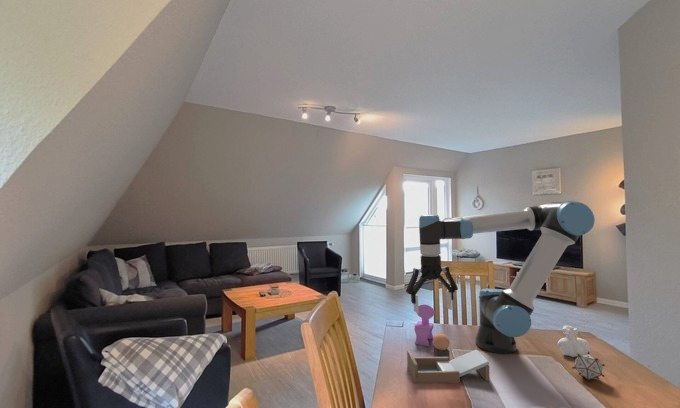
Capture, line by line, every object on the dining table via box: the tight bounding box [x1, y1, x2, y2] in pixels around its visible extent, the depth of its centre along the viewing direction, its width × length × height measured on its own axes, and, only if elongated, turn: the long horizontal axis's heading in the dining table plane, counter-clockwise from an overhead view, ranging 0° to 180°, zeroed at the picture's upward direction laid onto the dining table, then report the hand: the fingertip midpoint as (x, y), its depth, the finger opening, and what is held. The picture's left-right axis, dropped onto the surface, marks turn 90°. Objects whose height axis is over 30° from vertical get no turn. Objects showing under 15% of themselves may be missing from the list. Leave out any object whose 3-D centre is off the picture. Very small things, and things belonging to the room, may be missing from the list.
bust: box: [556, 324, 591, 358], centre depth 124 cm, size 12×8×11 cm
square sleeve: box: [433, 346, 450, 358], centre depth 123 cm, size 5×5×2 cm
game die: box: [571, 351, 606, 383], centre depth 105 cm, size 9×8×10 cm
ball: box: [432, 333, 450, 351], centre depth 123 cm, size 6×6×6 cm
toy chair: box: [414, 304, 436, 347], centre depth 136 cm, size 8×9×15 cm
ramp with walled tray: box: [406, 349, 491, 384], centre depth 109 cm, size 25×11×6 cm, turn 90°
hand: (432, 310), depth 122 cm, fingers open, 13 cm apart
